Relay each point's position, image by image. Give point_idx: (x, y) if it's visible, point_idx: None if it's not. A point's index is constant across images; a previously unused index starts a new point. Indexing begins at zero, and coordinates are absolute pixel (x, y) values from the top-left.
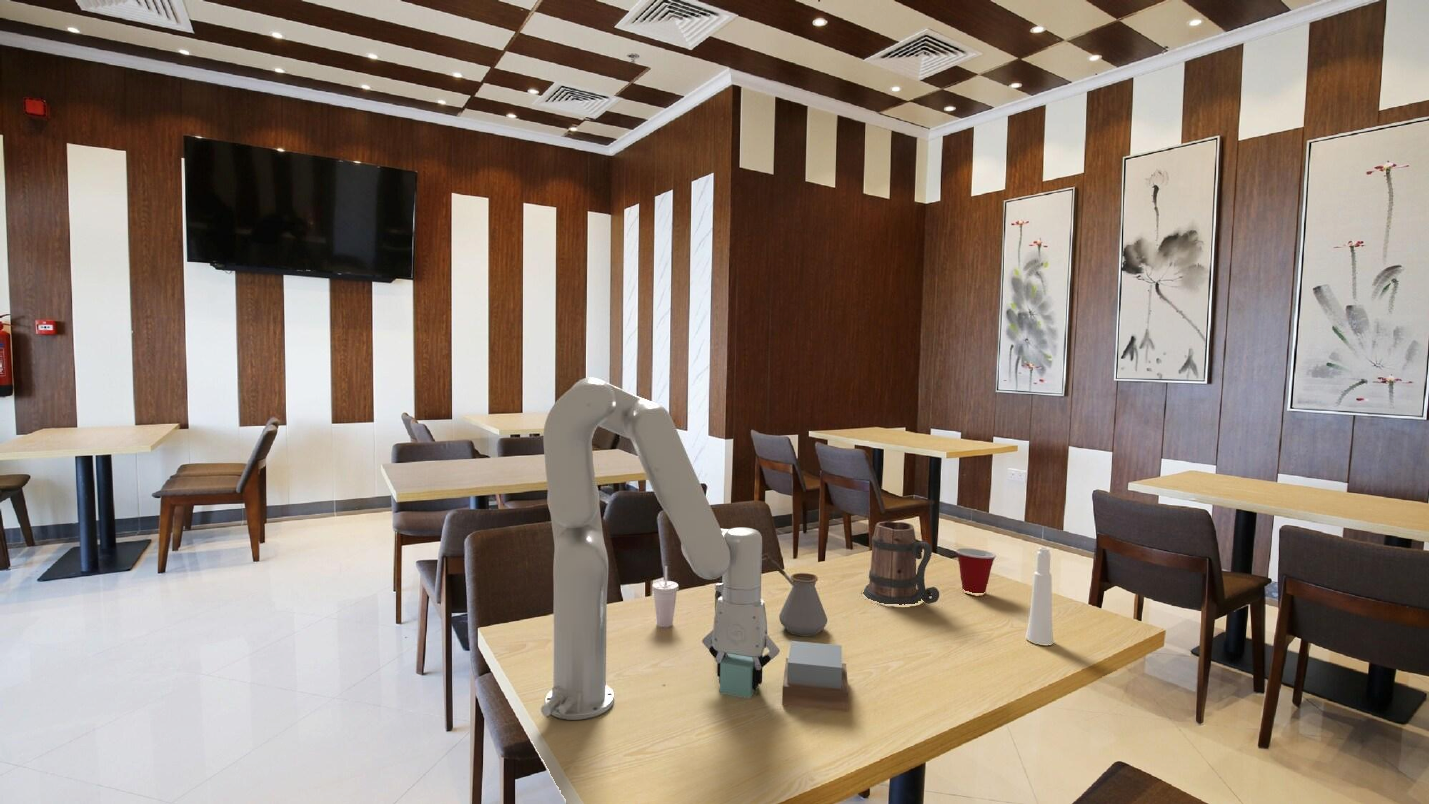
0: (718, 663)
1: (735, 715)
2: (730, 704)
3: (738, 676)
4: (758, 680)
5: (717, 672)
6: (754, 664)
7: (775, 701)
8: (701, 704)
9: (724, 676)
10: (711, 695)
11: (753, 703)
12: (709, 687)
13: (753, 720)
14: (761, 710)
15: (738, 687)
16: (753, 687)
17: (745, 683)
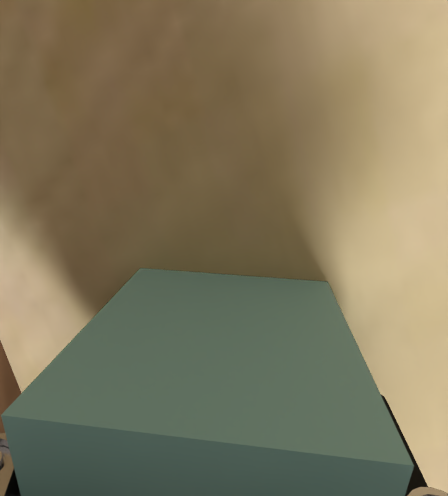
0: (418, 492)
1: (155, 26)
2: (228, 164)
3: (182, 345)
4: None
5: (391, 416)
6: (3, 487)
7: (8, 276)
8: (430, 93)
9: (317, 346)
10: (376, 237)
11: (103, 221)
12: (405, 325)
13: (26, 5)
14: (33, 156)
15: (199, 297)
16: None
17: (136, 312)
